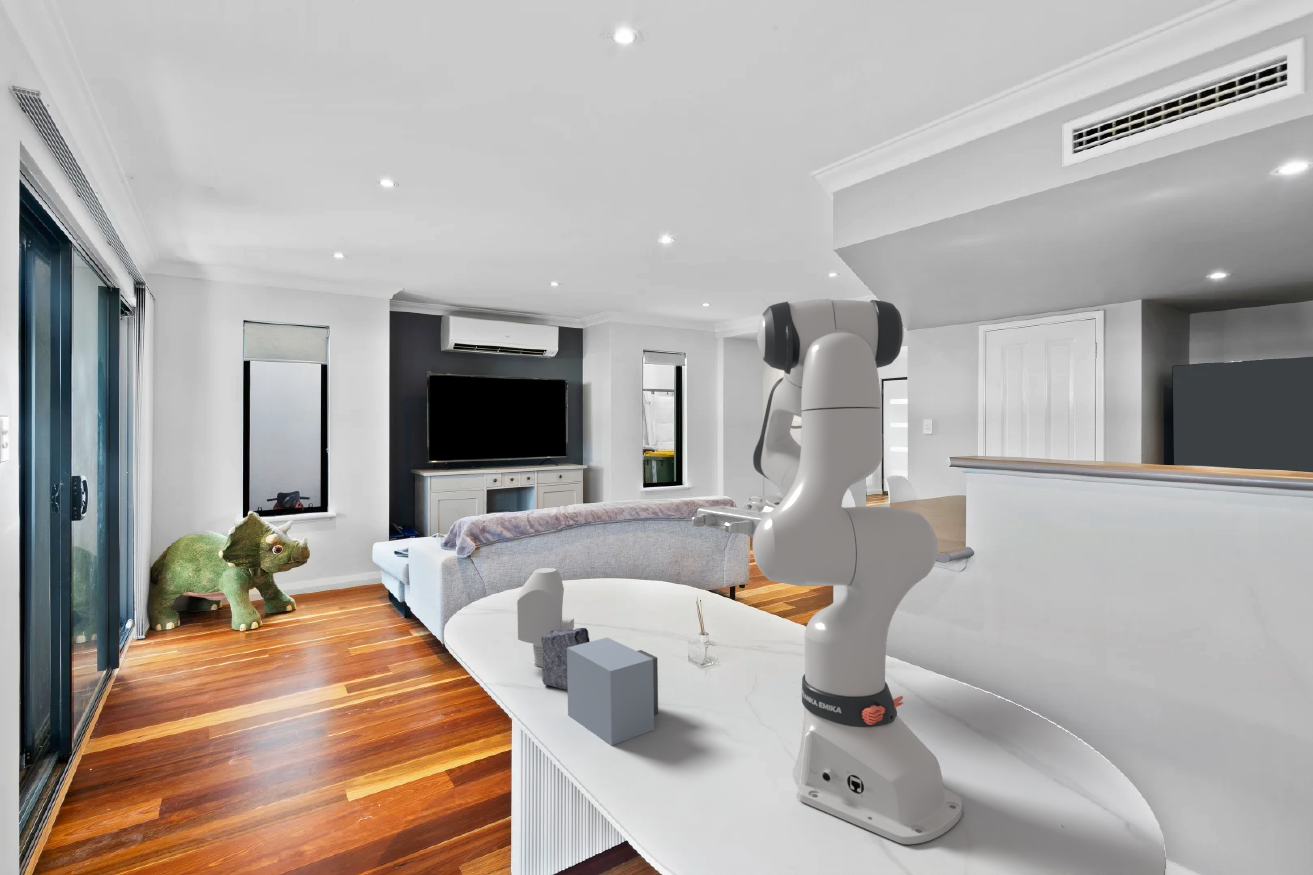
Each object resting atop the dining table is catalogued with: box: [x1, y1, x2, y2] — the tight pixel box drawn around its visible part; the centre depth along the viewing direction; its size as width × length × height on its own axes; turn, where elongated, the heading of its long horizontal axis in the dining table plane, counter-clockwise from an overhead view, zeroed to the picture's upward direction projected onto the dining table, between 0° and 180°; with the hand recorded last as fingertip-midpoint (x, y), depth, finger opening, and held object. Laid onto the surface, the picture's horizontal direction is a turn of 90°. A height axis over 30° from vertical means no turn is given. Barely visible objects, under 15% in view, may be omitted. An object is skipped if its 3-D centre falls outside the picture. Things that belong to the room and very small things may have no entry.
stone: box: [541, 627, 591, 691], centre depth 130 cm, size 12×10×10 cm
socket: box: [567, 637, 655, 746], centre depth 112 cm, size 14×9×12 cm, turn 37°
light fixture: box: [516, 567, 575, 668], centre depth 140 cm, size 9×9×20 cm
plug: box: [636, 649, 659, 716], centre depth 115 cm, size 5×8×10 cm, turn 127°
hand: (710, 525), depth 123 cm, fingers open, 8 cm apart
